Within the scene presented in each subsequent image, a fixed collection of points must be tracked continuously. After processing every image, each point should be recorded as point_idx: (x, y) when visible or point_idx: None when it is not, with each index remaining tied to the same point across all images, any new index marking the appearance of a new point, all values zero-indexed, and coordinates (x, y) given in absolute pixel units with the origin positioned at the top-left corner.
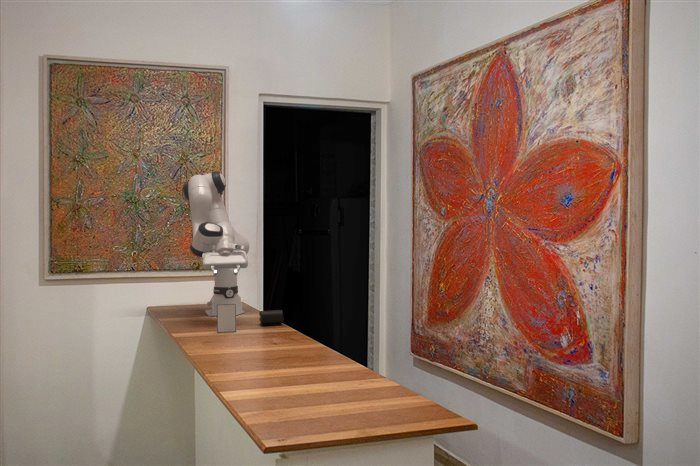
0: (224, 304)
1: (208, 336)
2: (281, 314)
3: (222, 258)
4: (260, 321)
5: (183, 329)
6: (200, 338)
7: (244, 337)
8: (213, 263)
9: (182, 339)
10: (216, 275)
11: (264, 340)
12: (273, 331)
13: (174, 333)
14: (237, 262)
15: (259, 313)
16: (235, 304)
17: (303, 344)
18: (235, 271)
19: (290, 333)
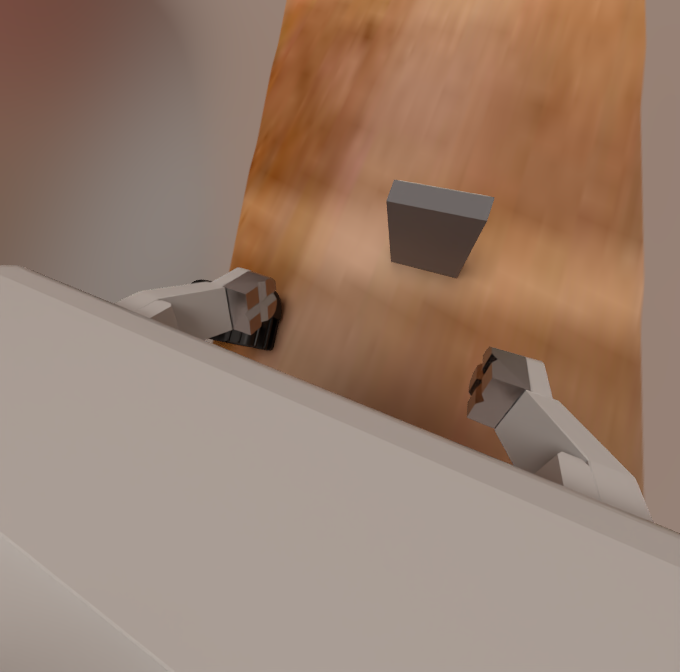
0: (450, 191)
1: (513, 205)
2: (202, 280)
3: (265, 626)
4: (276, 314)
5: (574, 411)
6: (552, 180)
7: (408, 142)
8: (622, 522)
9: (625, 187)
10: (476, 374)
11: (375, 80)
12: (294, 203)
13: (635, 332)
14: (89, 309)
15: (252, 344)
16: (395, 181)
17: (314, 6)
18: (251, 276)
19: (270, 153)
